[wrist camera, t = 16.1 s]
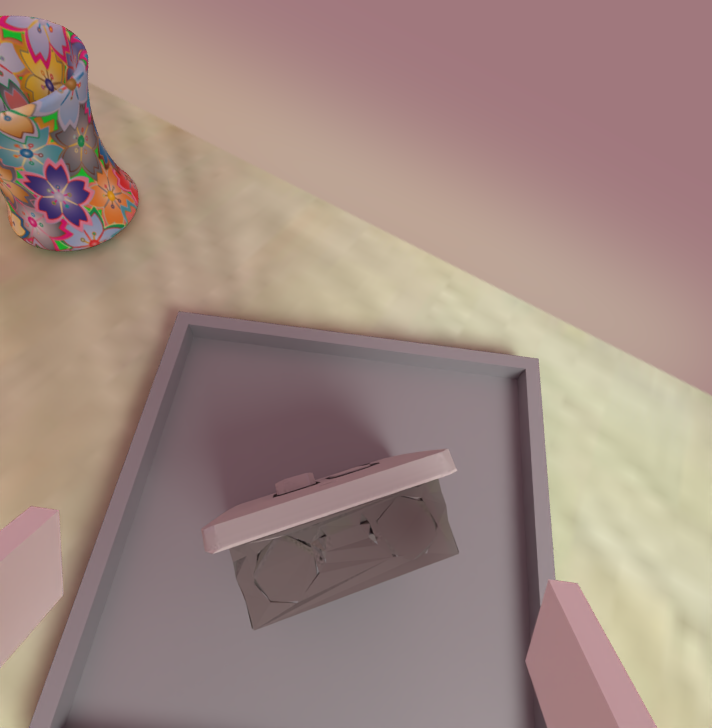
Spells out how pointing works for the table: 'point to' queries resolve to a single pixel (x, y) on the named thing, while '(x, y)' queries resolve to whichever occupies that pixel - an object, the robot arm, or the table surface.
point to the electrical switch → (336, 533)
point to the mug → (55, 142)
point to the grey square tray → (345, 615)
